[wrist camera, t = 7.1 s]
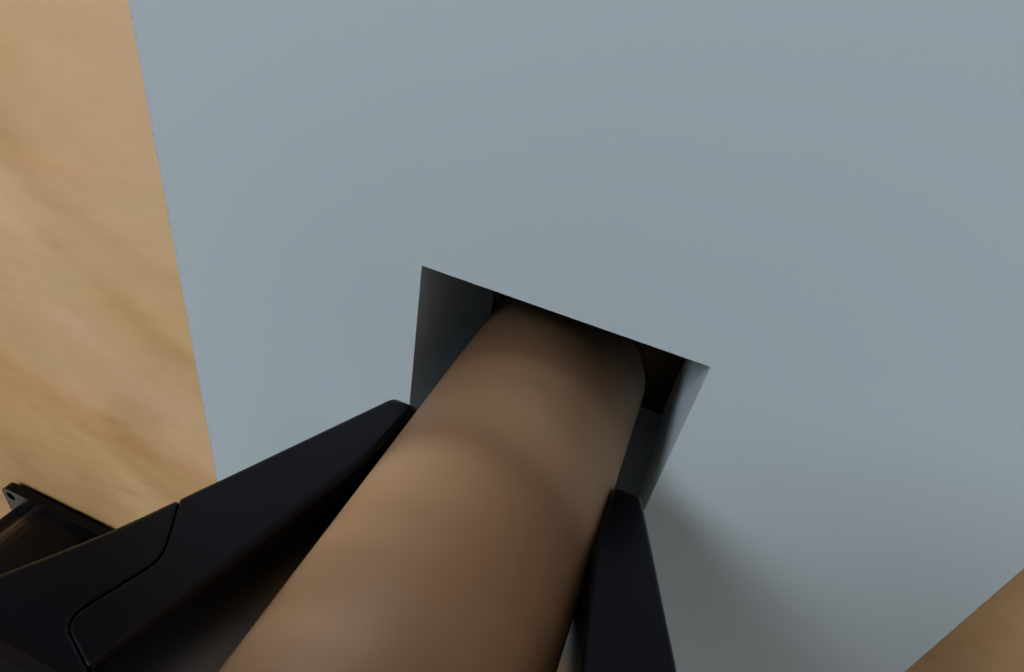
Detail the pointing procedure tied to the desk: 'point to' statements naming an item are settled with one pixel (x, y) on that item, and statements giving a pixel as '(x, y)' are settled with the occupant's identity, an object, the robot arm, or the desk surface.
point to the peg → (469, 514)
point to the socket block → (641, 268)
